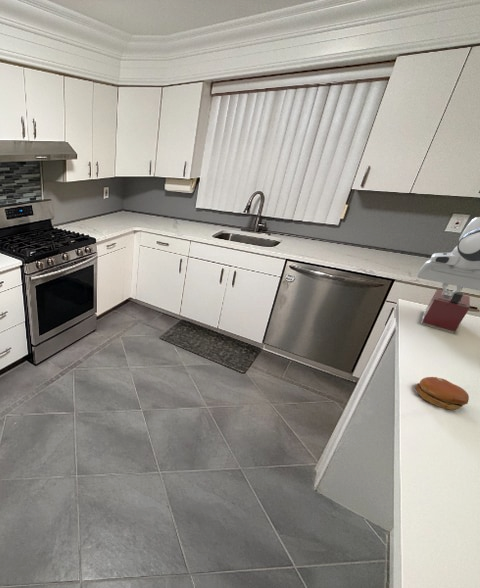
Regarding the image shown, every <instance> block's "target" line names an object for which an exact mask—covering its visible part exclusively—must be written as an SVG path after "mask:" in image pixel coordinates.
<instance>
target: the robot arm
mask: <svg viewBox="0 0 480 588" xmlns="http://www.w3.org/2000/svg"><path fill="white" fill-rule="evenodd" d="M416 276H417V278H418V279H422V280H427V281H432V282H435V283H436V282H437V283H441V284H442V285H441V287H442V290H443V292H442V295H446V296H450V297H453V295H454V294H455V293H460V291H462V290H463V288H464V289H468V290H469V289H470V290H473V291H474V290H475V291H479V292H480V215H479V216H475V217H474V218H472V219H471V220H470V222H468V224H467V225H466V226H465V228H464V230H463V231H462V233H461V234H460V237H459V238H458V243H457V245H456V246H455V247H454V248H453V250H452V251H451V252H434V253H433V254H432V255H431V256H430V259H428V260H426V261H425V262H424V263H423V265H422V266H421V267H420V269H419V270H418V272H417V273H416ZM450 285H451V286H455V289H453V290H449V289H447V287H449V286H450Z"/></svg>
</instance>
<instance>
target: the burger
mask: <svg viewBox="0 0 480 588" xmlns="http://www.w3.org/2000/svg"><path fill="white" fill-rule="evenodd" d="M415 389H416V392H417V393H418V395H419V396H420V397H421V398H422V399H423V400H425V401H426V402H428V403H430V404H433V405H434V406H436V407H438V408H442V409H446V410H449V411H455V410H458V409H461V408H462V407H463V406H465V405H467V404H468V403H469V400H470V396H469V393H468V392H467V391H466V390H465V389H464V388H462V387H461V386H459V385H457V384H454V383H452V382H451V381H449V380H447V379H445V378H442V377H438V376H426V377H423V378H421V379H420V381H419V382H417V384H415Z"/></svg>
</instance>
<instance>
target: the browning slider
mask: <svg viewBox="0 0 480 588" xmlns="http://www.w3.org/2000/svg"><path fill="white" fill-rule="evenodd" d="M463 295H464V293H463V292H462V293H461V292H457V293H455V294H454V295H453V297H452V298H451V302H455V303H459V301H460V299H461V298H462V296H463Z"/></svg>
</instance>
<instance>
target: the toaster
mask: <svg viewBox="0 0 480 588" xmlns="http://www.w3.org/2000/svg"><path fill="white" fill-rule="evenodd" d="M443 291H444V290H443V289H439V288H437V289H436V291H435V293H434V294H433V296H432V297H431V300H430V301H429V303H428V305H427V307H426V308H425V310H424V311H423V314H422V318H421V321H420V325H422V326H427V327H430V328H433V329H437V330H439V331H440V330H441V331H443V332H447V333H451V334H455V333H456V331H457V329H458V328H459V326H460V324H461V323H462V321H463V319H464V318H465V316H466V315H467V313H468V312H469V310H470V308H471V298H470V297H471V296H469V295H465V294H463V296H462V298H461V299H460V301H459V303H455V302H451V298H452V297H450V296H446V295H442V292H443Z"/></svg>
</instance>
